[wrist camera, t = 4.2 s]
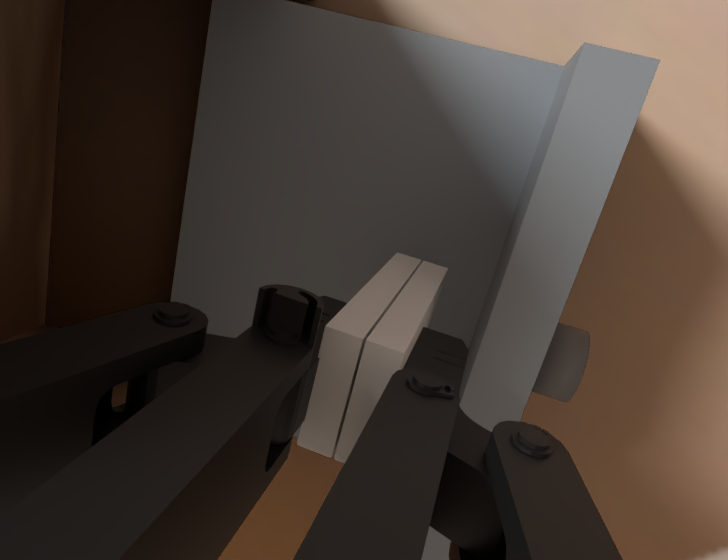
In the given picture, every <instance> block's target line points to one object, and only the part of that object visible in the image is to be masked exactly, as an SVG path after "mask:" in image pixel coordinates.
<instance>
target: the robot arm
mask: <svg viewBox="0 0 728 560" xmlns="http://www.w3.org/2000/svg"><path fill="white" fill-rule="evenodd" d="M420 264H421V265H420ZM447 271H448V268H446V267H443V266H439V265H436V264H433V263H430V262H427V261H423V262H422V263H421V260H420V259H417V258H414V257H410V256H407V255H404V254H401V253H398V252H397V253H396V254H395V255H394V256H393V257H392V258H391V259H390V260H389V261H388V262H387V263H386V264H385V265H384V266H383V267H382V269H381V270H380V271H379V272H378V273H377V274H376V275H375V276H374V277H373V278H372V279H371V280H370V281H369V282H368V283H367V284H366V285H365V286H364V287H363V288H362V289H361V290H360V291H359V292H358V293H357V294H356V295H355V296H354V297H353V298H352V299H351V300H350V301H349V302H348V303H346V302H343V301H340V300H337V299H334V298H331V297H328V296H325V295H324V296H320V297H318V296H317V295H315V294H314V293H312V292H309V291H307V290H305V289H302V288H298V287H294V286H290V285H280V284H274V285H265V286H262V287H260V288H259V291H258V296H257V302H256V307H255V312H254V317H253V322H252V326H251V327H249V328H248V329H247V330H245V331H244V332H243V333H242V334H240V335H239V336H238V337H236V338H231V337H225V336H219V335H214V334H208V333H207V327H208V321H209V320H208V318H207V316H206V314H204V313H203V312H201V311H200V310H199V309H196V308H194V307H191V306H189V305H188V304H184V303H181V304H180V302H159V303H153V304H147V305H143V306H140V307H136V308H132V309H129V310H125V311H121V312H117V313H114V314H110V315H106V316H103V317H99V318H95V319H92V320H88V321H84V322H80V323H77V324H73V325H69V326H66V327H62V328H58V329H55V330H51V331H47V332H43V333H40V334H36V335H32V336H29V337H25V338H21V339H17V340H14V341H10V342H6V343H3V344H0V560H217V559H218V558H219V556H220V555H221V553H222V552H223V550H224V549H225V547H226V546H227V545H228V543H229V542H230V540H231V539H232V537H233V536H234V534H235V533H236V532H237V530H238V529H239V527H240V526H241V524H242V523H243V521H244V520H245V519H246V517H247V516H248V514H249V513H250V511H251V510H252V508H253V507H254V505H255V504H256V503H257V501H258V500H259V498H260V497H261V495H262V494H263V492H264V491H265V490H266V488H267V487H268V485H269V484H270V482H271V481H272V479H273V478H274V477H275V475H276V474H277V472H278V471H279V469H280V468H281V466H282V465H283V463H284V462H285V461H286V459H287V457H288V454H289V451H290V446H291V442H292V438H293V435H294V434H295V432H296V431H297V430H298V428H299V427H300V426H301V429H300V433H299V437H298V441H297V445H298V446H300V447H303V448H305V449H308V450H311V451H313V452H316V453H318V454H321V455H323V456H326V457H328V458H332V456H333V454H334V452H335V451H336V453H335V457H334V460H336V461H339V462H341V463H344V466H343V468H342V470H341V471H340V473H339V475H338V477H337V479H336V481H335V483H334V485H333V486H332V488H331V490H330V492H329V494H328V496H327V498H326V499H325V501H324V503H323V505H322V507H321V509H320V511H319V512H318V514H317V516H316V518H315V520H314V522H313V524H312V526H311V527H310V529H309V531H308V533H307V535H306V537H305V539H304V540H303V542H302V544H301V546H300V548H299V550H298V552H297V553H296V555H295V557H294V559H293V560H421V559H422V555H423V551H424V546H425V542H426V538H427V534H428V530H429V526H430V527H432V528H433V529H435V530H436V531H438V532H439V533H440V534H442V535H443V536H445V537H446V538H448V539H449V540H450V541H451V543H450V547H449V560H622V558H621V556H620V554H619V552H618V550H617V548H616V546H615V544H614V542H613V540H612V538H611V536H610V534H609V532H608V530H607V528H606V526H605V524H604V522H603V520H602V518H601V516H600V514H599V512H598V510H597V508H596V506H595V504H594V502H593V500H592V498H591V496H590V494H589V492H588V490H587V488H586V486H585V484H584V482H583V480H582V478H581V476H580V474H579V472H578V470H577V468H576V466H575V464H574V462H573V460H572V458H571V456H570V454H569V452H568V451H567V450H566V448H565V447H564V446H563V444H562V443H561V442H559V441H558V440H557V439H556V438H554V437H553V436H552V435H551V434H550V433H549V432H547V431H545V430H544V429H541V428H540V427H538V426H535V425H530V424H527V423H524V422H518V421H510V420H509V421H503V422H499V423H498V424H497V425H496V426H494V428H493V430H492V432H491V431H489V430H487V429H485V428H483V427H482V426H480V425H479V424H477V423H476V422H474V421H473V420H472V419H470V418H469V417H468V416H467V415H466V414H465V413H464V412H463V410H462V409H461V408H460V406H459V401H460V396H459V390H460V386H461V382H462V377H463V373H464V368H465V364H466V360H467V356H468V352H469V350H468V348H467V347H466V345H465V343H464V342H463V340H462V339H459V338H456V337H453V336H450V335H447V334H444V333H441V332H438V331H435V330H432V329H430V326H431V323H432V320H433V316H434V313H435V310H436V307H437V303H438V300H439V297H440V294H441V290H442V287H443V284H444V281H445V277H446V274H447ZM126 381H128V385H127V394H126V402H125V403H124V404H121V405H119V406H116V407H112V403H111V401H112V392H113V387H114V386H116V385H118V384H121V383H123V382H126ZM301 424H302V425H301Z"/></svg>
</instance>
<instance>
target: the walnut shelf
mask: <svg viewBox="0 0 728 560" xmlns="http://www.w3.org/2000/svg"><path fill="white" fill-rule="evenodd" d="M64 5H65V0H0V344H3V343H6V342H10V341H14V340H17V339H21V338H25V337H29V336H32V335H36V334H40V333H43V332H47V331H51V330H55V329H58V328H56V327H53V326H51V325H48V324H45V315H46V298H47V282H48V266H49V249H50V233H51V217H52V201H53V184H54V168H55V152H56V135H57V119H58V103H59V86H60V70H61V54H62V37H63V21H64ZM127 385H128V381H126V382H123V383H121V384H118V385H116V386H114V387H113V392H112V401H111V403H112V407H116V406H119V405H121V404H124V403H125V402H126V394H127Z"/></svg>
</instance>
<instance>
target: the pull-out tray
mask: <svg viewBox="0 0 728 560" xmlns="http://www.w3.org/2000/svg"><path fill="white" fill-rule="evenodd" d="M659 62H660V60H659V59H654V58H650V57H646V56H641V55H637V54H632V53H628V52H624V51H619V50H615V49H611V48H606V47H602V46H597V45H593V44H589V43H584V44H583V45H582V46H581V47H580V48H579V49H578V51H577V52H576V53H575V54H574V55H573V57H572V58H571V59H570V60H569V61H568V62H567V64H566V65H565V66H561V65H557V64H553V63H548V62H544V61H540V60H536V59H532V58H527V57H523V56H519V55H515V54H510V53H506V52H502V51H498V50H494V49H489V48H485V47H481V46H477V45H472V44H468V43H464V42H460V41H456V40H451V39H447V38H443V37H439V36H434V35H430V34H426V33H422V32H418V31H413V30H409V29H405V28H401V27H396V26H392V25H388V24H384V23H380V22H375V21H371V20H367V19H363V18H358V17H354V16H350V15H346V14H342V13H337V12H333V11H329V10H325V9H320V8H316V7H312V6H308V5H304V4H299V3H295V2H291V1H287V0H212V6H211V13H210V21H209V28H208V35H207V42H206V49H205V56H204V64H203V71H202V78H201V85H200V92H199V99H198V107H197V114H196V121H195V128H194V135H193V143H192V150H191V157H190V164H189V171H188V178H187V186H186V193H185V200H184V207H183V214H182V221H181V229H180V236H179V243H178V250H177V257H176V264H175V272H174V279H173V286H172V293H171V300H170V302H180V304H181V303H184V304H188V305H189V306H191V307H194V308H196V309H199V310H200V311H201V312H203V313H204V314H206V316H207V318H208V320H209V321H208V327H207V333H208V334H214V335H219V336H225V337H231V338H236V337H238V336H239V335H240V334H242V333H243V332H244V331H245V330H247V329H248V328H249V327H251V326H252V322H253V317H254V312H255V307H256V302H257V296H258V291H259V288H260V287H262V286H265V285H274V284H280V285H290V286H294V287H298V288H302V289H305V290H307V291H309V292H312V293H314V294H315V295H317V296H318V297H320V296H324V295H325V296H328V297H331V298H334V299H337V300H340V301H343V302H346V303H348V302H349V301H350V300H351V299H352V298H353V297H354V296H355V295H356V294H357V293H358V292H359V291H360V290H361V289H362V288H363V287H364V286H365V285H366V284H367V283H368V282H369V281H370V280H371V279H372V278H373V277H374V276H375V275H376V274H377V273H378V272H379V271H380V270H381V269H382V267H383V266H384V265H385V264H386V263H387V262H388V261H389V260H390V259H391V258H392V257H393V256H394V255H395V254H396V253H397V252H398V253H401V254H404V255H407V256H410V257H414V258H417V259H420V260H421V263H422V262H423V261H427V262H430V263H433V264H436V265H439V266H443V267H446V268H448V271H447V274H446V277H445V281H444V284H443V287H442V290H441V294H440V297H439V300H438V303H437V307H436V310H435V313H434V316H433V320H432V323H431V326H430V329H432V330H435V331H438V332H441V333H444V334H447V335H450V336H453V337H456V338H459V339H462V340H463V342H464V343H465V345H466V347H467V348H468V350H469V352H468V356H467V360H466V364H465V368H464V373H463V377H462V382H461V386H460V390H459V396H460V401H459V406H460V408H461V409H462V410H463V412H464V413H465V414H466V415H467V416H468V417H469V418H470V419H472V420H473V421H474V422H476V423H477V424H479V425H480V426H482V427H483V428H485V429H487V430H489V431H491V432H492V430H493V428H494V426H496V425H497V424H498V423H499V422H503V421H509V420H510V421H518V422H520V419H521V417H522V414H523V412H524V409H525V406H526V404H527V401H528V399H529V396H530V394H531V391H533V392H536V393H539V394H542V395H545V396H548V397H551V398H554V399H557V400H560V401H563V402H568V401H569V400H570V399H571V398H572V396H573V395H574V393H575V391H576V390H577V387H578V385H579V383H580V381H581V378H582V375H583V372H584V369H585V366H586V362H587V358H588V353H589V347H590V336H589V333H588V332H586V331H583V330H580V329H577V328H574V327H571V326H567V325H564V324H561V323H558V322H559V319H560V317H561V314H562V311H563V309H564V306H565V304H566V301H567V299H568V296H569V293H570V291H571V288H572V286H573V283H574V281H575V278H576V275H577V273H578V270H579V268H580V265H581V263H582V260H583V257H584V255H585V252H586V250H587V247H588V245H589V242H590V239H591V237H592V234H593V232H594V229H595V227H596V224H597V221H598V219H599V216H600V214H601V211H602V209H603V206H604V203H605V201H606V198H607V196H608V193H609V191H610V188H611V185H612V183H613V180H614V178H615V175H616V173H617V170H618V167H619V165H620V162H621V160H622V157H623V155H624V152H625V150H626V147H627V144H628V142H629V139H630V137H631V134H632V132H633V129H634V126H635V124H636V121H637V119H638V116H639V114H640V111H641V108H642V106H643V103H644V101H645V98H646V96H647V93H648V90H649V88H650V85H651V83H652V80H653V78H654V75H655V72H656V70H657V67H658V65H659ZM420 265H421V264H420ZM301 425H302V424H301ZM300 429H301V426H300V427H299V428H298V430H297V431H296V432H295V434H294V435H293V436H294V437H296V438H298V437H299V433H300ZM335 452H336V451H335ZM450 543H451V541H450V540H449V539H448V538H446V537H445V536H443V535H442V534H440V533H439V532H438V531H436V530H435V529H433V528H432V527H430V526H429V530H428V534H427V538H426V542H425V546H424V551H423V555H422V559H421V560H449V547H450Z"/></svg>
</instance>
